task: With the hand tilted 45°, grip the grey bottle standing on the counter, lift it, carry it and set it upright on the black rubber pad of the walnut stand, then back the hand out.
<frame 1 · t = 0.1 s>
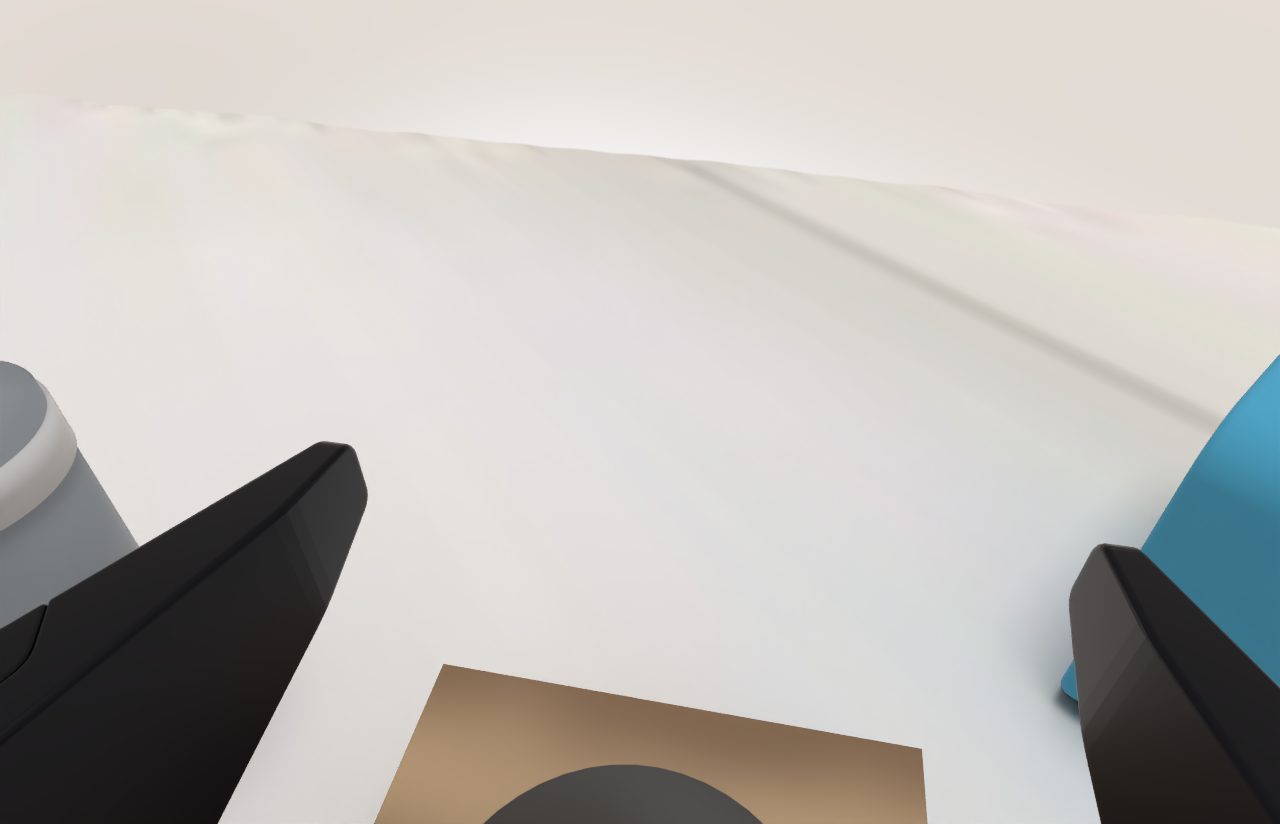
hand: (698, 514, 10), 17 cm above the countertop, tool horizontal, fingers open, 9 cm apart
grey bottle: (153, 741, 25), on the countertop
data package: (1190, 646, 28), on the countertop
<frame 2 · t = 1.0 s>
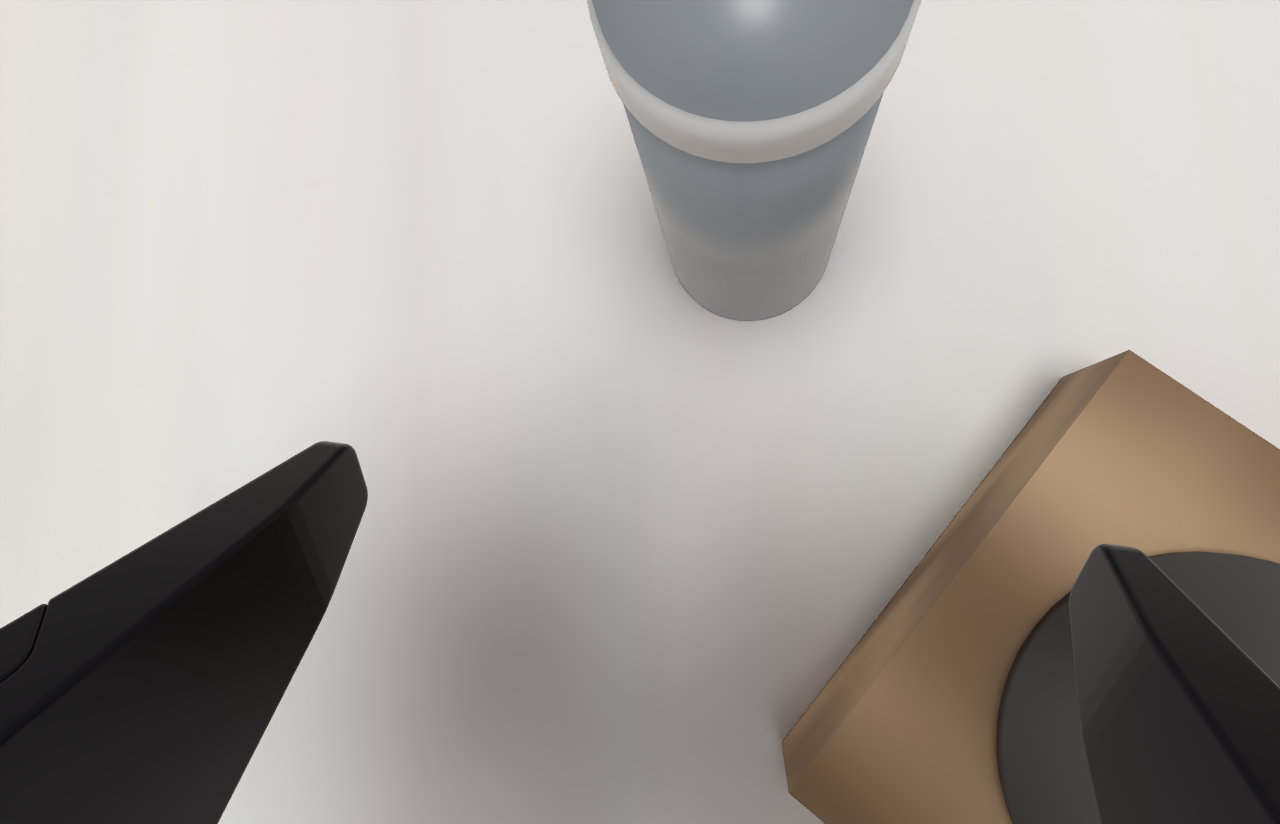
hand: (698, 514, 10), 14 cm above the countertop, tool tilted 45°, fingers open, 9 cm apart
grey bottle: (749, 243, 24), on the countertop
stand: (1127, 713, 21), on the countertop
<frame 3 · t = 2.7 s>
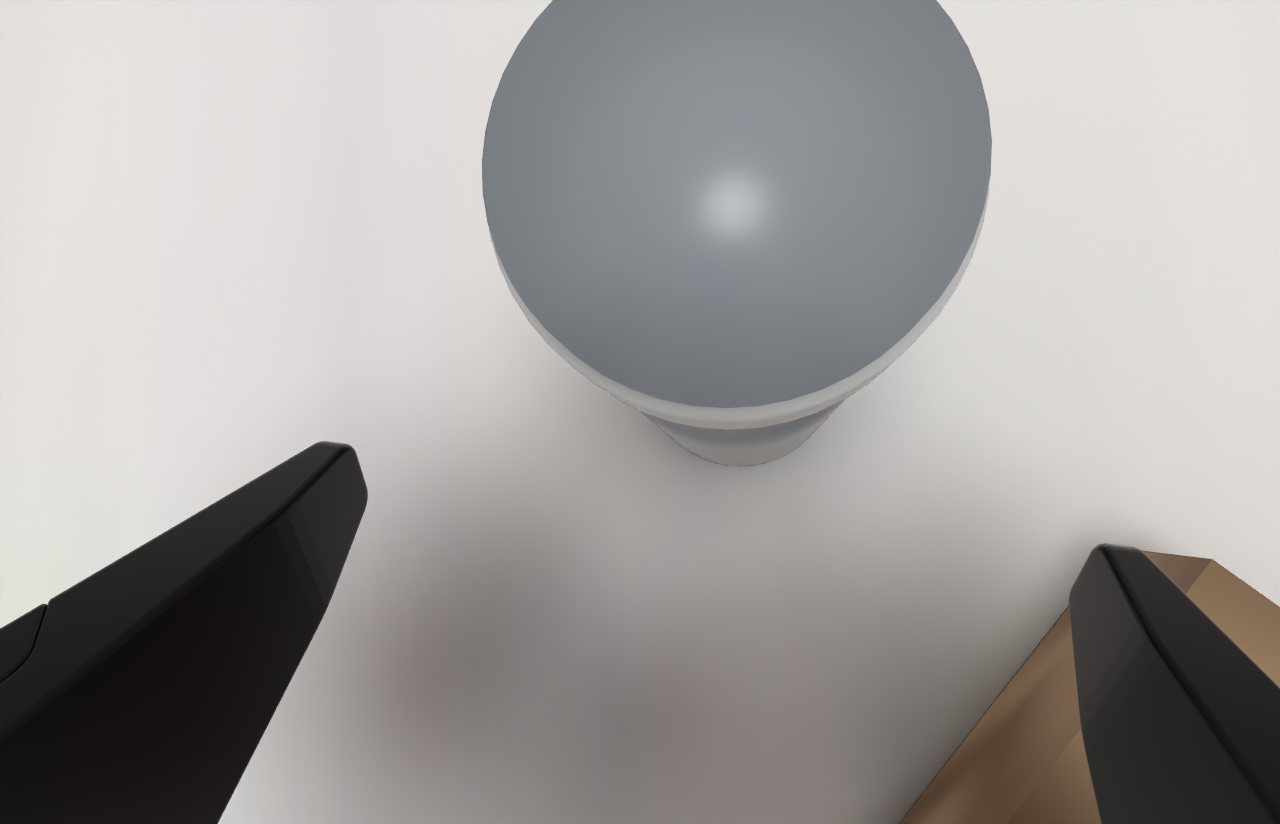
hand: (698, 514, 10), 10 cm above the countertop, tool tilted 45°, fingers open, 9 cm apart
grey bottle: (739, 372, 20), on the countertop
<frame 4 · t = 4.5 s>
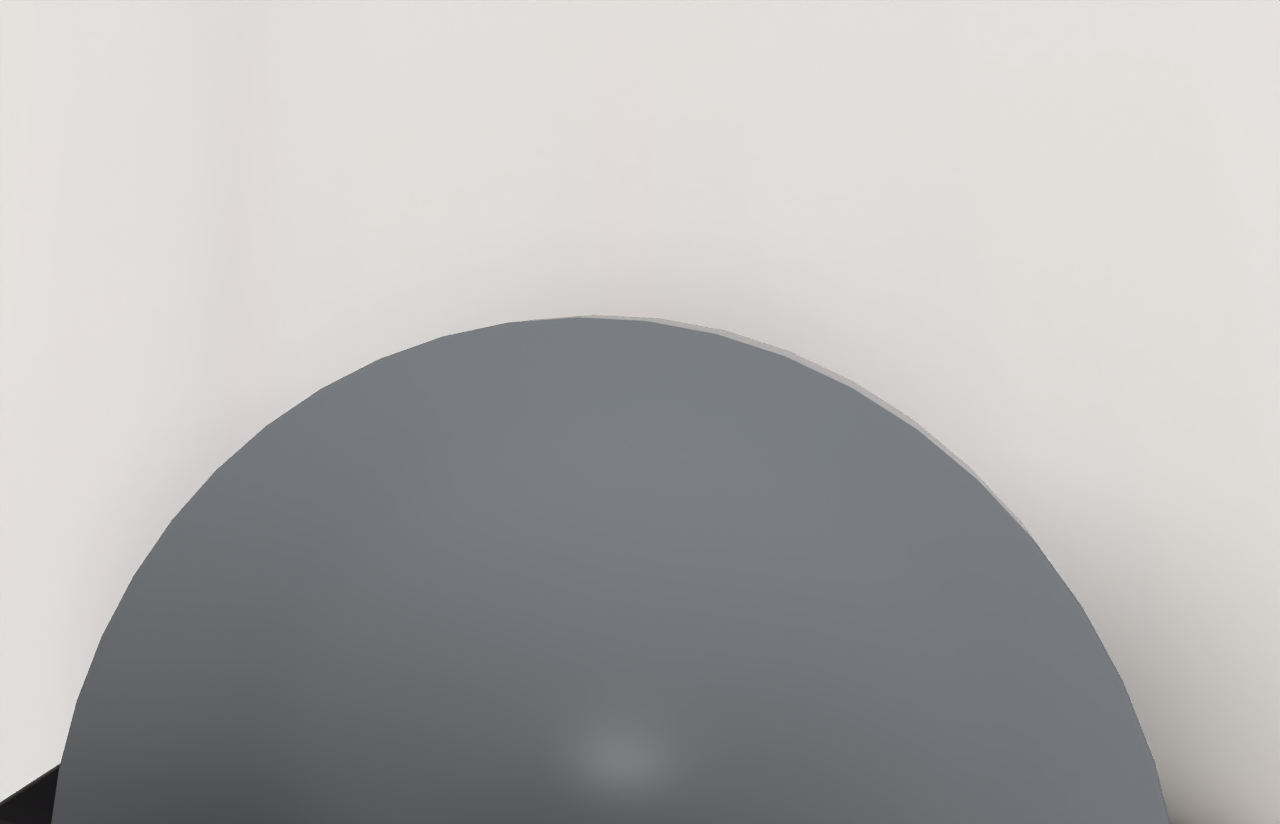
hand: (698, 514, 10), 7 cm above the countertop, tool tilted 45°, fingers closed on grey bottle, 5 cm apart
grey bottle: (709, 575, 16), on the countertop, touching gripper
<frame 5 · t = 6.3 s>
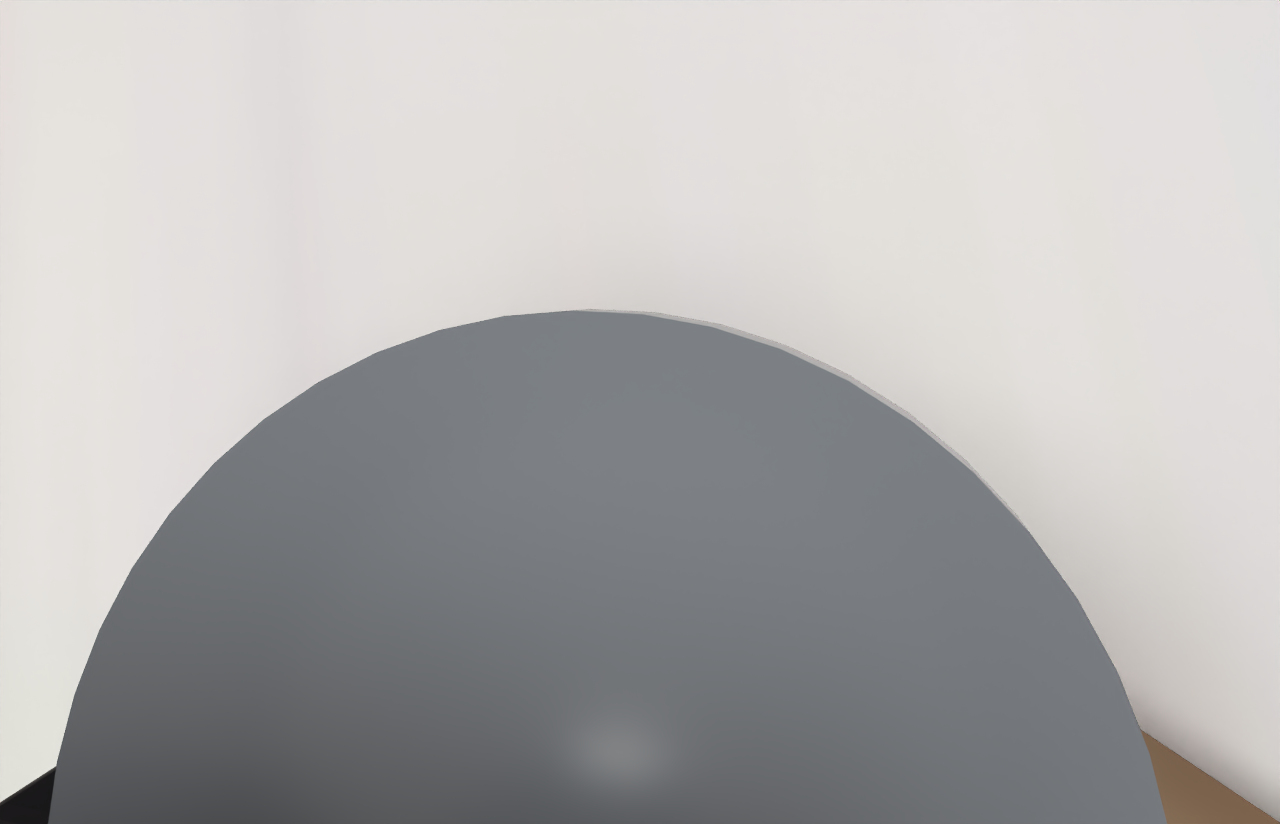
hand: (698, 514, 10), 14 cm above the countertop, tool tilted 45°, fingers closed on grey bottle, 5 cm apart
grey bottle: (709, 573, 16), point 7 cm above the countertop, touching gripper
when the fingers open (12 cm above the countertop, at t = 8.2 s): grey bottle stays where it is, resting on stand.
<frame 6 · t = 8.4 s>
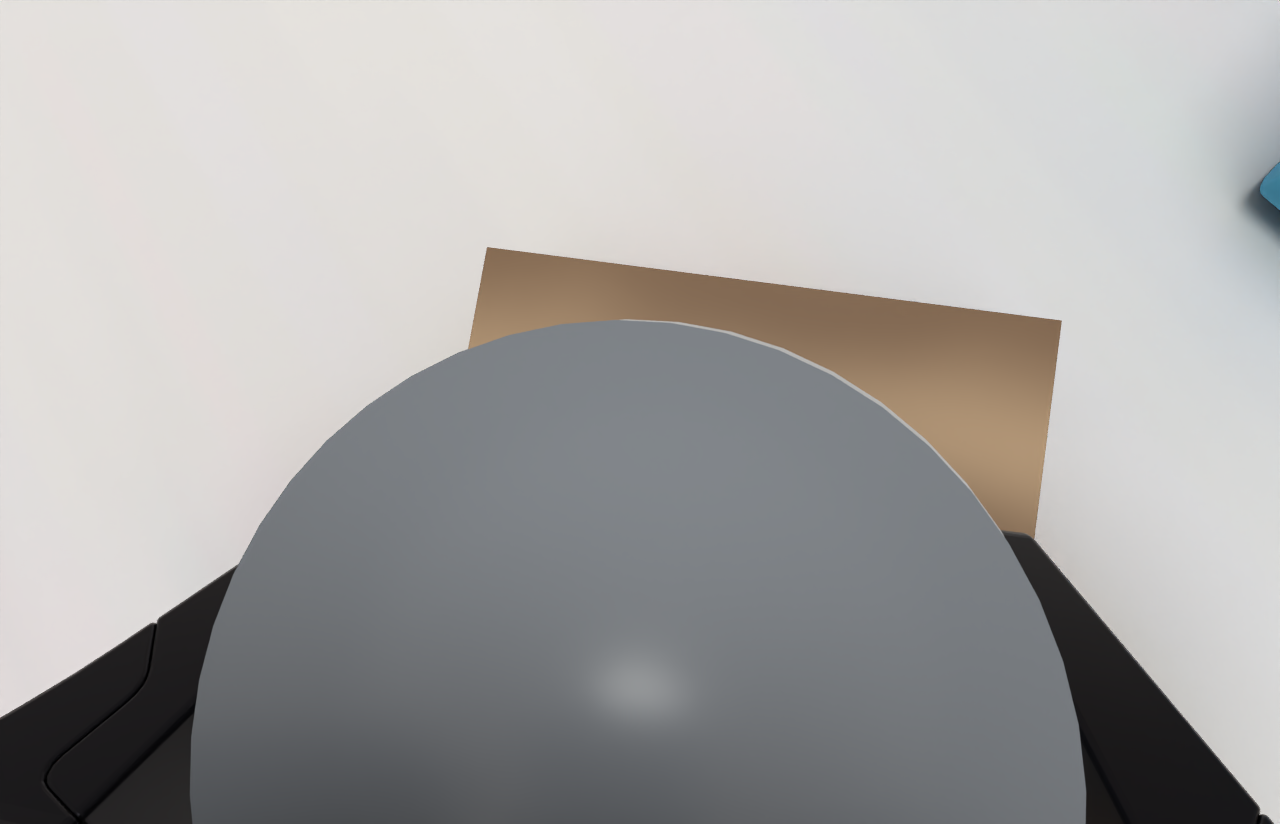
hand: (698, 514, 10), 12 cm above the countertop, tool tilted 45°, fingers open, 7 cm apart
grey bottle: (711, 572, 17), point 5 cm above the countertop, touching stand
stand: (720, 554, 22), on the countertop
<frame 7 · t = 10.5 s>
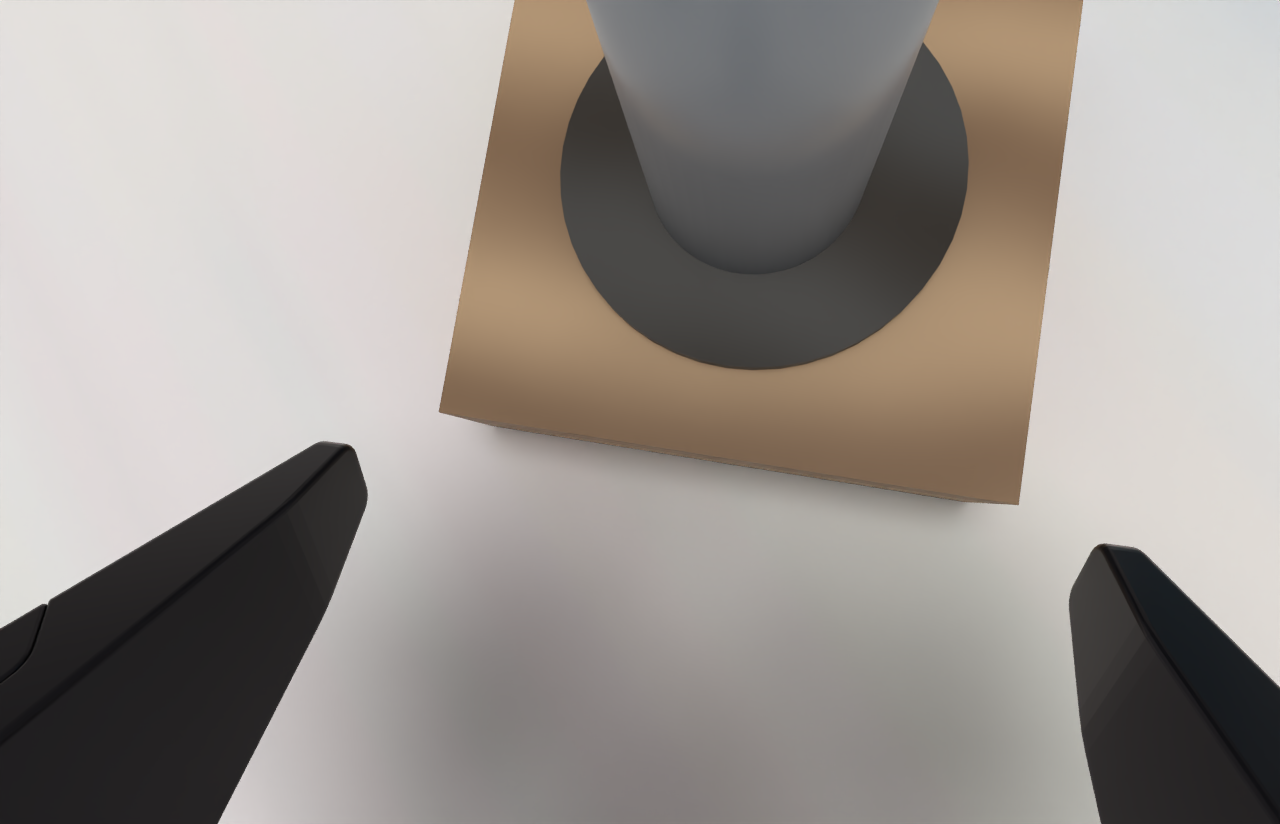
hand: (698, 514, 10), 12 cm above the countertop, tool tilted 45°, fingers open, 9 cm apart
grey bottle: (756, 168, 18), point 5 cm above the countertop, touching stand
stand: (755, 231, 22), on the countertop
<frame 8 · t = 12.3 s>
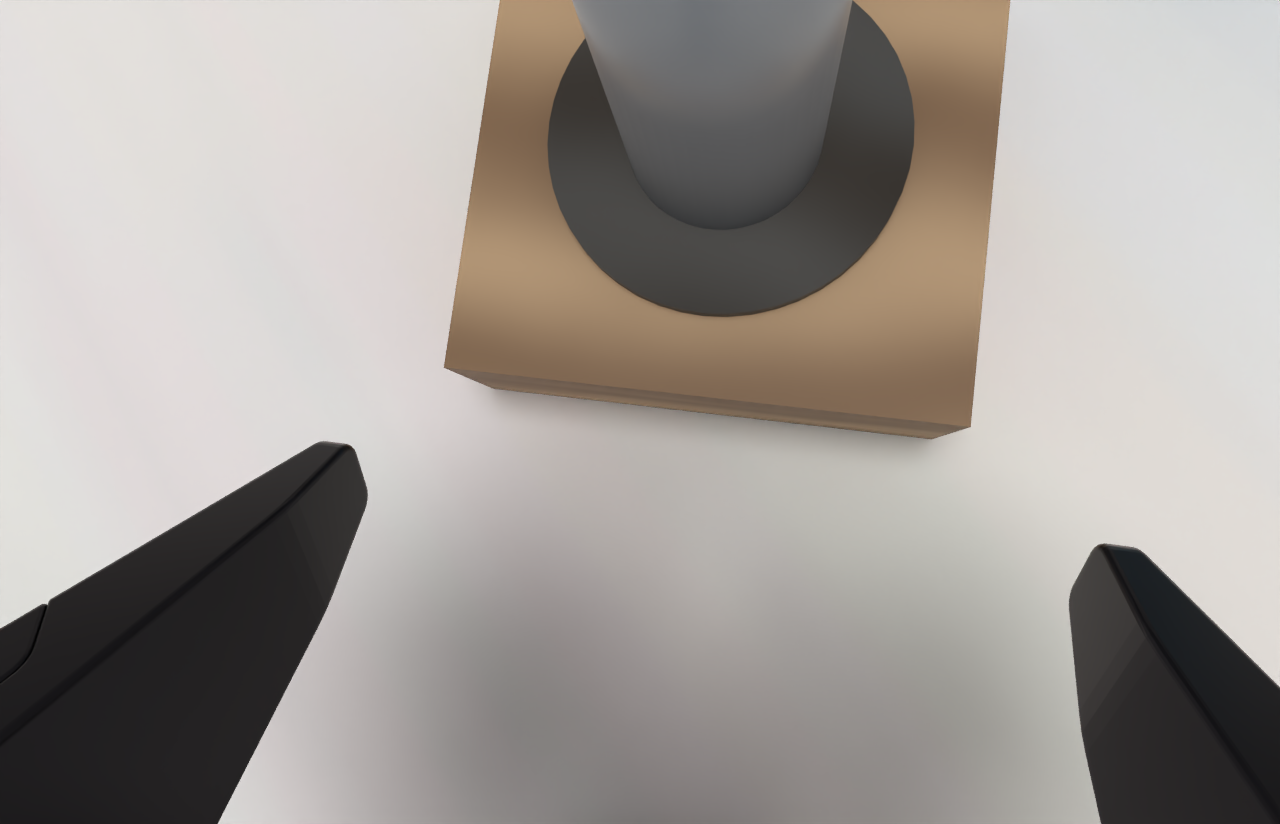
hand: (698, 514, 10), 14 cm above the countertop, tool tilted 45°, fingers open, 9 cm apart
grey bottle: (724, 135, 20), point 5 cm above the countertop, touching stand
stand: (729, 200, 24), on the countertop
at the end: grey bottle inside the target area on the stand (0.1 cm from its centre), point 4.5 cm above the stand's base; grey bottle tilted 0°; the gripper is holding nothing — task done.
